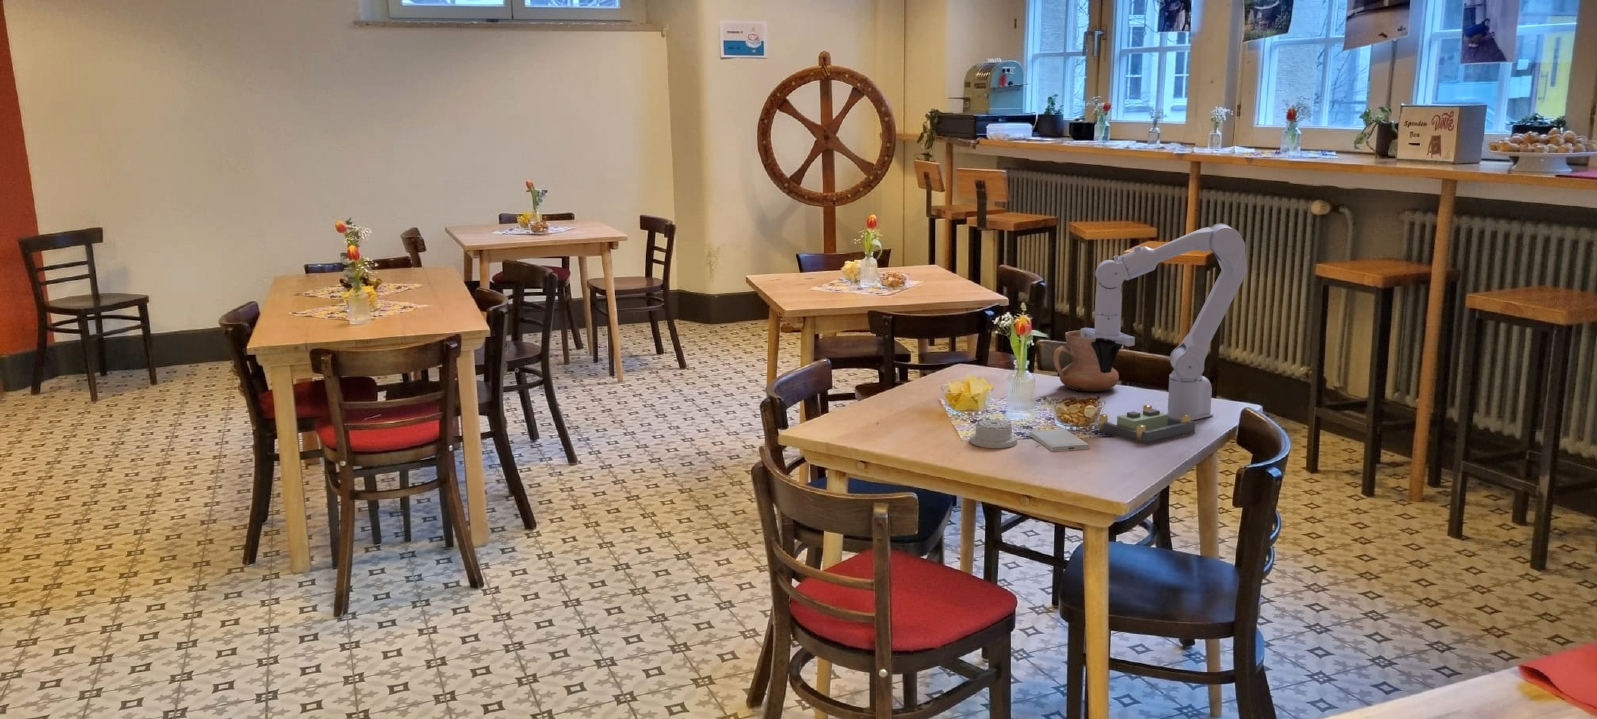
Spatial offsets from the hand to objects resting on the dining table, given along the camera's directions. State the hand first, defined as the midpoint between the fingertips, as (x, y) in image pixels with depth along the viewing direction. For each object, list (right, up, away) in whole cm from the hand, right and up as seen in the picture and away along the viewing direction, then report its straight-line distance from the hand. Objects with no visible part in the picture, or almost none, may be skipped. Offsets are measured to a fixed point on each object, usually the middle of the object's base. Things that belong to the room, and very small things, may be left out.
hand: (1105, 372), depth 266 cm
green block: (+4, -13, -13) cm, 19 cm away
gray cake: (-29, -15, -19) cm, 37 cm away
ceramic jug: (+2, -5, +27) cm, 27 cm away
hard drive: (-15, -15, -19) cm, 29 cm away
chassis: (+5, -13, -12) cm, 18 cm away
